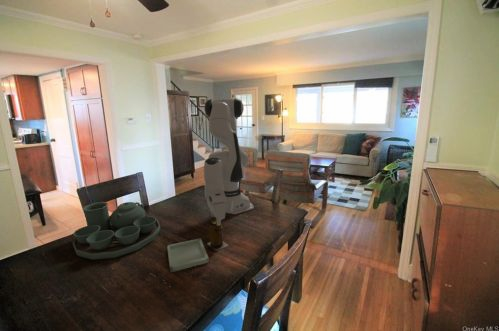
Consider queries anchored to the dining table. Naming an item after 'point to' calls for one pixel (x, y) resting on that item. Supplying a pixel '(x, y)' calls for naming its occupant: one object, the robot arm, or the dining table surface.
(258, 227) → the dining table surface
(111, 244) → the tea set
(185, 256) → the tray
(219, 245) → the condiment
